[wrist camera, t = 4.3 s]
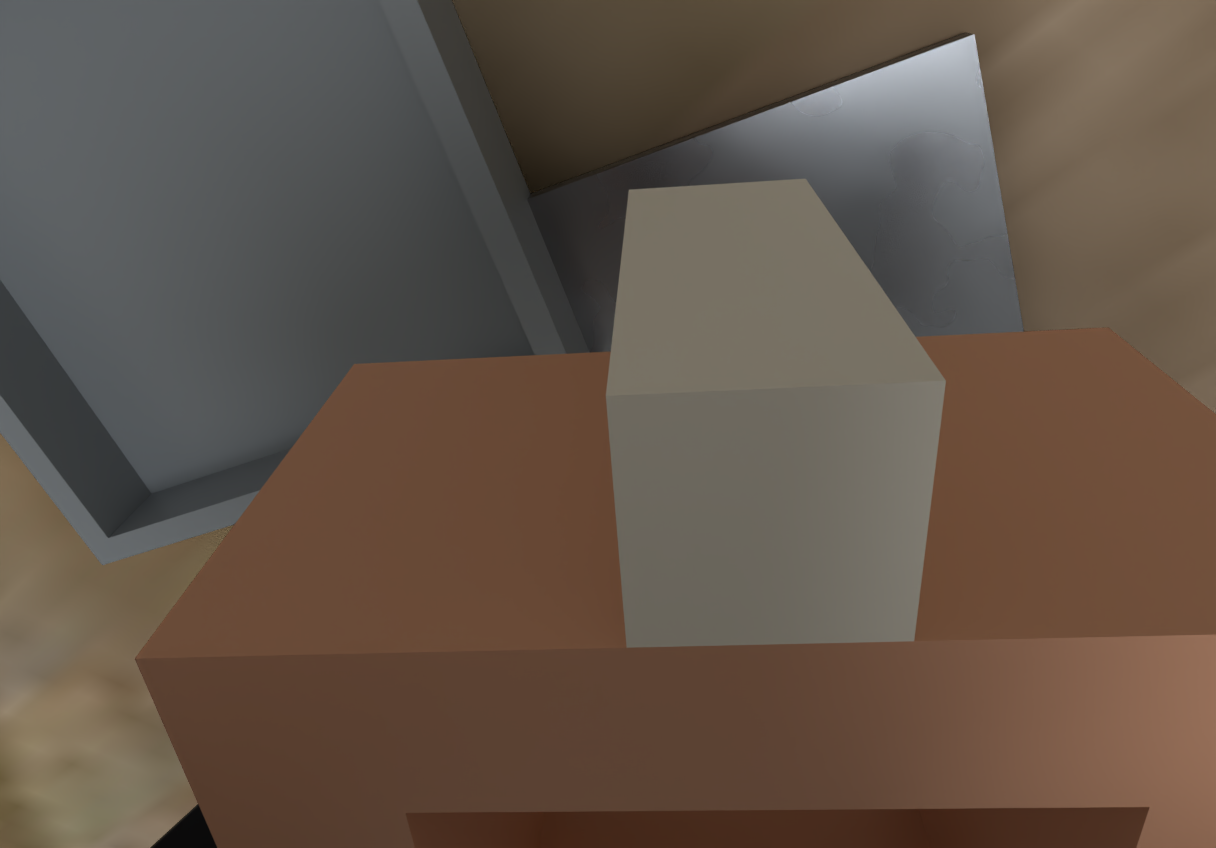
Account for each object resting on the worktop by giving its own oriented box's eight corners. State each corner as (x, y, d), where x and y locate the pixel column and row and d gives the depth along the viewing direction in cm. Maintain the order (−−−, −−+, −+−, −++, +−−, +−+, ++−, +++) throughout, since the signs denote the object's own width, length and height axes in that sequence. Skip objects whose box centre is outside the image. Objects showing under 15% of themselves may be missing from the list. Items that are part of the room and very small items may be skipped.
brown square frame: (1000, 836, 11) (1160, 1243, 8) (463, 838, 12) (380, 1220, 8) (1143, 157, 7) (1625, 349, 4) (318, 209, 8) (31, 421, 4)
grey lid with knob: (1039, 468, 20) (1094, 539, 18) (640, 574, 22) (637, 651, 20) (966, 32, 16) (1023, 44, 14) (482, 211, 18) (453, 251, 16)
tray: (599, 364, 20) (592, 413, 18) (157, 506, 22) (102, 565, 20) (345, -260, 15) (289, -302, 12) (-191, 15, 17) (-316, 22, 15)
